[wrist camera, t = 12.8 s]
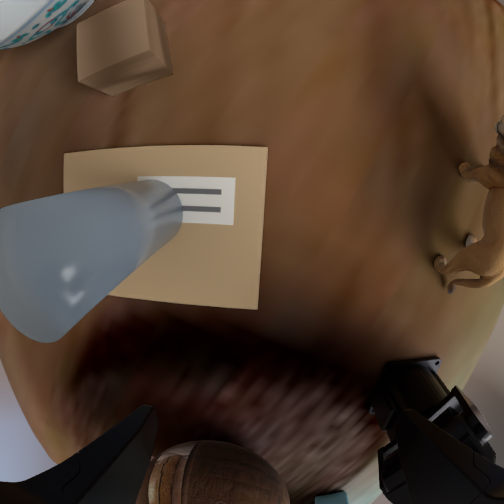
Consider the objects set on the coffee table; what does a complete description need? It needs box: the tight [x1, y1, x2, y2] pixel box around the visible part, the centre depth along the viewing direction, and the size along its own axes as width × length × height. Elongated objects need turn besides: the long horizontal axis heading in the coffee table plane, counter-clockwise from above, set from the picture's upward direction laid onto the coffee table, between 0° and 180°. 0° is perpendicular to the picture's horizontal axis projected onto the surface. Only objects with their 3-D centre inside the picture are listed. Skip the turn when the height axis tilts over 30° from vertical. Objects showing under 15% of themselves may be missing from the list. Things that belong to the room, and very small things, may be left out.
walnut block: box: [77, 0, 173, 97], centre depth 15 cm, size 5×5×5 cm
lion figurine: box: [434, 116, 504, 294], centre depth 15 cm, size 15×5×9 cm, turn 175°
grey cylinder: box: [0, 180, 183, 343], centre depth 13 cm, size 5×5×13 cm
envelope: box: [64, 145, 268, 310], centre depth 20 cm, size 16×12×1 cm
